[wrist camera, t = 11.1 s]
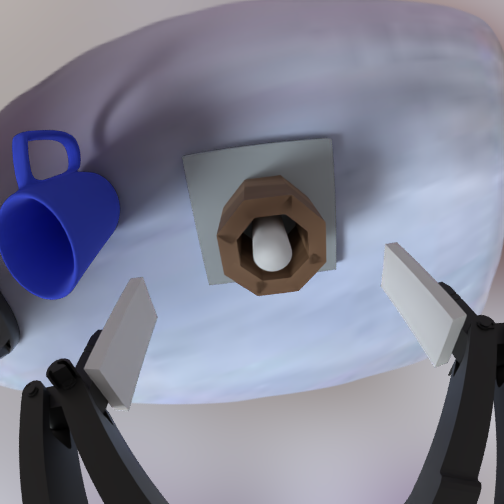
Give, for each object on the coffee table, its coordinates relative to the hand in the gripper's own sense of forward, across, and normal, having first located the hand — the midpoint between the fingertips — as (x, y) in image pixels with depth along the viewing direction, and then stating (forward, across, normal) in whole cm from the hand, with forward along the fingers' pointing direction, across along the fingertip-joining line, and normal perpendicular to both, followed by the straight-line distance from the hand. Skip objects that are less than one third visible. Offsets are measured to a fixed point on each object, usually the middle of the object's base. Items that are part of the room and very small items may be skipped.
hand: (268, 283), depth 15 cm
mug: (+12, -15, +5) cm, 20 cm away
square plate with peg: (+11, +1, 0) cm, 11 cm away
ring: (+10, +1, 0) cm, 10 cm away
